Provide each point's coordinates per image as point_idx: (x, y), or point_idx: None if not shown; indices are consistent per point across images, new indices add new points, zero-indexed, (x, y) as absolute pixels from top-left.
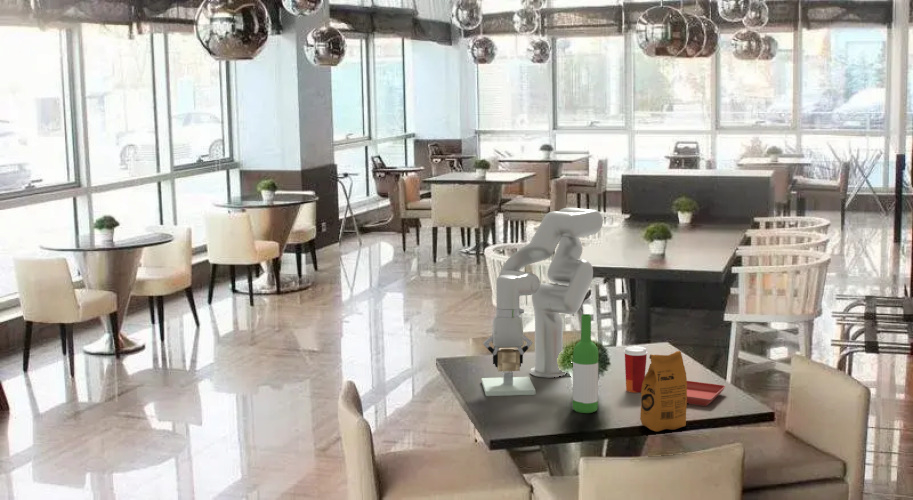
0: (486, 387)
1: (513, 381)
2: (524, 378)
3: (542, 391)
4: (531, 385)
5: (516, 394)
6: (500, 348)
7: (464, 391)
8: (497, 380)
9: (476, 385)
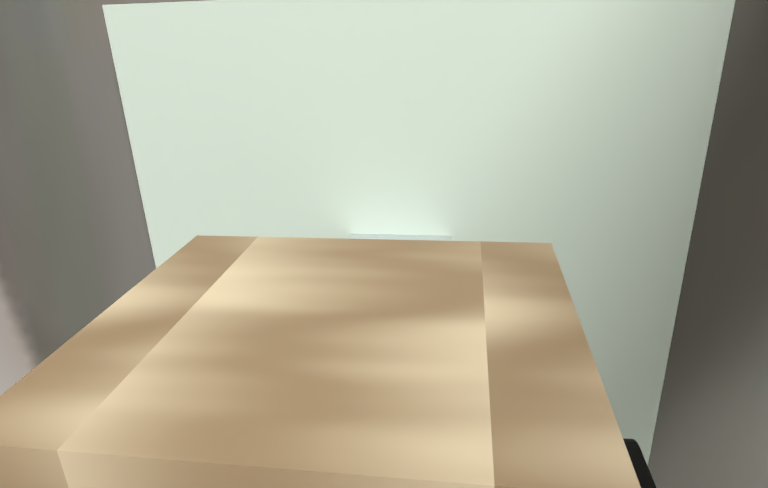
0: None
1: (476, 194)
2: (648, 64)
3: (733, 390)
4: (649, 361)
5: None
6: (74, 475)
7: (28, 299)
8: (292, 132)
9: (97, 122)
